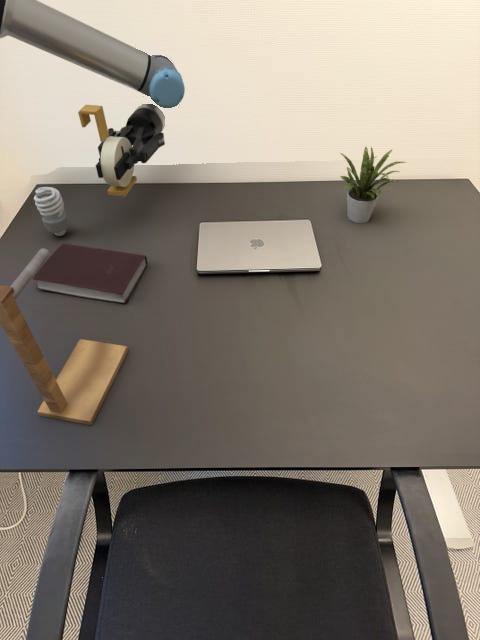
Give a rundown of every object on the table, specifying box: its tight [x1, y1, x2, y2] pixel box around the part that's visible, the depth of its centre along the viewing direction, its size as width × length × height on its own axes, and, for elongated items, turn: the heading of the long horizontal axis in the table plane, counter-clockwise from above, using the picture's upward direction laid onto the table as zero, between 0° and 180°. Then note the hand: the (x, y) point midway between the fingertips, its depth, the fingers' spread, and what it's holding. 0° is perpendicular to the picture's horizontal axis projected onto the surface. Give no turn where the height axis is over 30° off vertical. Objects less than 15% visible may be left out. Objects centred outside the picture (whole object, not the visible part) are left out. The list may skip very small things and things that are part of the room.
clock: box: [77, 104, 138, 197], centre depth 98 cm, size 7×10×17 cm
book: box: [32, 242, 148, 304], centre depth 96 cm, size 12×19×3 cm, turn 76°
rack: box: [0, 247, 129, 426], centre depth 70 cm, size 9×16×26 cm, turn 168°
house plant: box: [339, 146, 407, 224], centre depth 104 cm, size 14×14×16 cm
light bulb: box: [33, 186, 70, 237], centre depth 103 cm, size 6×6×12 cm
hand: (107, 172), depth 95 cm, fingers closed on clock, 3 cm apart
